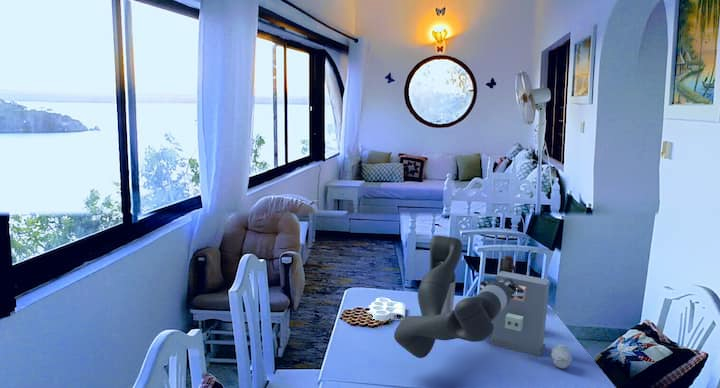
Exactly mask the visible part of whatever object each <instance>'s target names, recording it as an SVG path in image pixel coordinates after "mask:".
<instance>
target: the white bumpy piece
mask: <svg viewBox="0 0 720 388" xmlns="http://www.w3.org/2000/svg"><path fill="white" fill-rule="evenodd" d="M367 307H368V308H369V310H368V311H366V313H367V314H369V315H370V314H372V315H373V317H372V320H373V319H375V320H379V321H384V320H389V319H391V320H389V321H397V314H398V315H401V318H400V317H399V318H400V320H399V321H400V322H401V321H402V320H403V319H405V318H406V308H407V307H406V304H405V303H403V302H399V301H393V300H391V299H390V298H387V297H377V298H375V301H372V302H371V304H370V305H367ZM399 321H398V322H399Z"/></svg>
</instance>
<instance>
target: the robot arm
mask: <svg viewBox="0 0 720 388" xmlns="http://www.w3.org/2000/svg"><path fill="white" fill-rule="evenodd" d="M462 250H463V242H462V241H461V240H460V239H459V238H457V237H453V236H446V235H445V236H444V235H434V236H433V237H432V238H431V240H430V247H429V271H428V272H427V273H426V274H425V275H424V276H423V277H422V279H421V282H420V284H419V287H418V289H417V300H418V301H417V302H418V305H419V309H420V313H421V315H409V316H407V317H405V319H403V320H402V321H400V322H399V323H398V325H397V327H396V328H395V331H394V334H393V336H394V338H393V339H394V340H395V341H396V343H397V344H398V345H399V346H400V347H402V348H403V349H404V350H406V351H407V352H408V353H410V354H411V355H412V356H414V357H416V358H417V359H424V358H426V357H427V356H428V355H429V354H430V352H431V351H432V350H433V347H434V345H435V343H436V340H437V341H452V340H456V339H460V340H464V341H466V342H472V343H475V342H476V343H477V342H482V341H485V340H487V339H488V338H489V339H490V338H491V336H492V332H493V329H494V326H493V319H494V318H495V317H496V316H497V314H499V313H500V312H501V311H502V310H503V309H504V308H505V307H506V305H507V304H508V303H509V301H510V300H511V299H513V298H514V297H515V296H516V297H518V298H520V299H523V293H524V290H523V289H522V288H521V287H519V286H518V285H517V284H515V283H513V280H512V279H510V278H506V279H504V280H501V281H498V280H496V279H491V280H482V281H480V283H479V292H478V293H477V295H476V296H471V297H466V298H462V299H461V300H460V301H458V302H457V303H456V304H454V303H455V290H456V289H455V288H456V276H457V275H456V273H455V270H456V268H457V267H458V264H459V262H460V259H461V255H462ZM454 305H455V306H454Z"/></svg>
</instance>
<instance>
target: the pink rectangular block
mask: <svg viewBox="0 0 720 388" xmlns="http://www.w3.org/2000/svg"><path fill="white" fill-rule="evenodd" d="M518 286H519V285H518ZM519 287H521V288H522V289H523V290H524V293H523V299H520V298H518V297H516V296H515V297H514V298H513V300H518V301H522V302H523V301H524V300H525V296H526V287H524V286H519Z"/></svg>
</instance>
